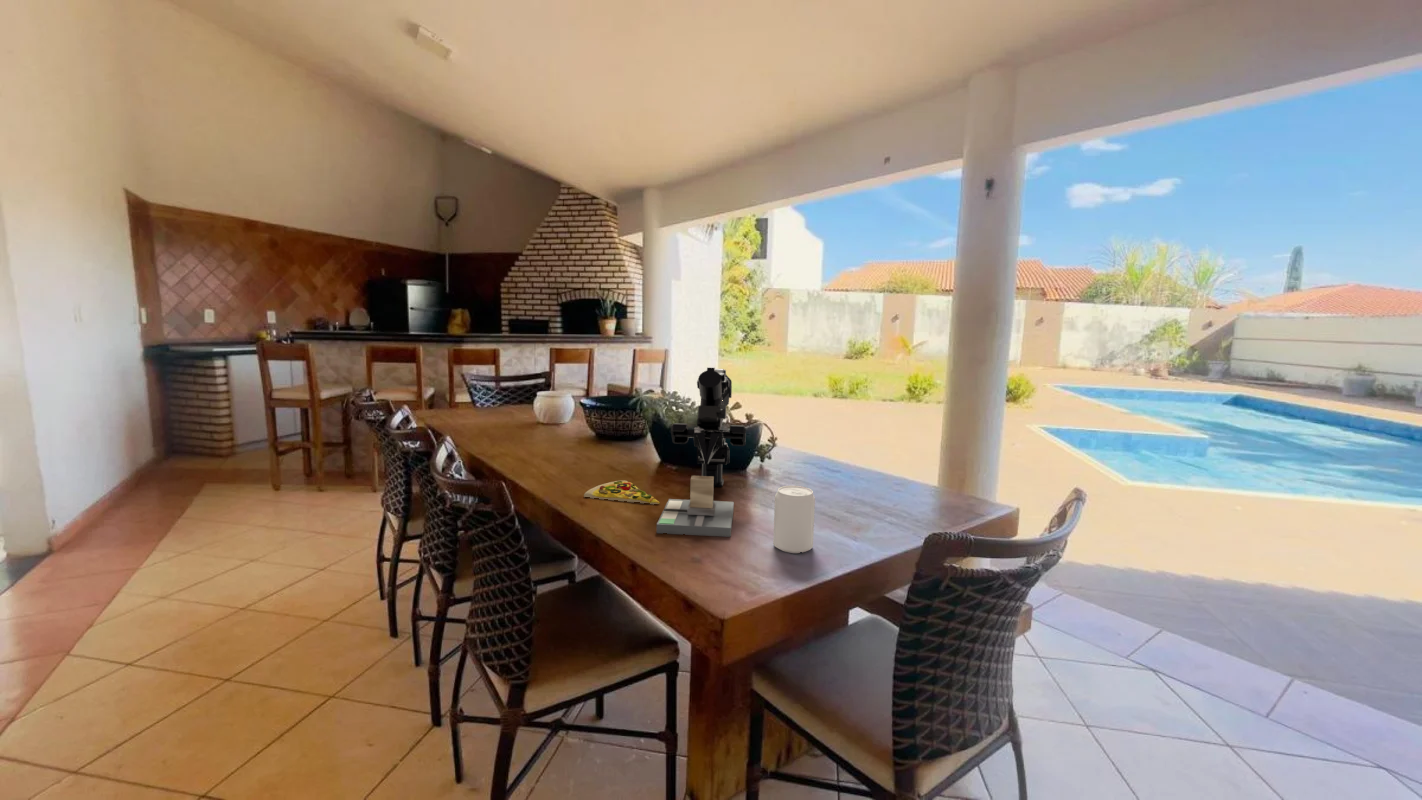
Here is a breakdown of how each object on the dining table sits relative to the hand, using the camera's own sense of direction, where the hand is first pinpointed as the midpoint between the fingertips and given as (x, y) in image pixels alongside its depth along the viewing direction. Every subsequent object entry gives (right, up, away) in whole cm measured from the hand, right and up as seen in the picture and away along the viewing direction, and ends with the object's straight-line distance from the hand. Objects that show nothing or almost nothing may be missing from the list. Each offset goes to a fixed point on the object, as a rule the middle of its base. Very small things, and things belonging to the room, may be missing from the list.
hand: (706, 463), depth 140 cm
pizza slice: (-20, -11, +9) cm, 25 cm away
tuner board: (-2, -12, -8) cm, 15 cm away
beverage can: (+18, -15, -22) cm, 32 cm away
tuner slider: (-4, -10, -9) cm, 14 cm away
